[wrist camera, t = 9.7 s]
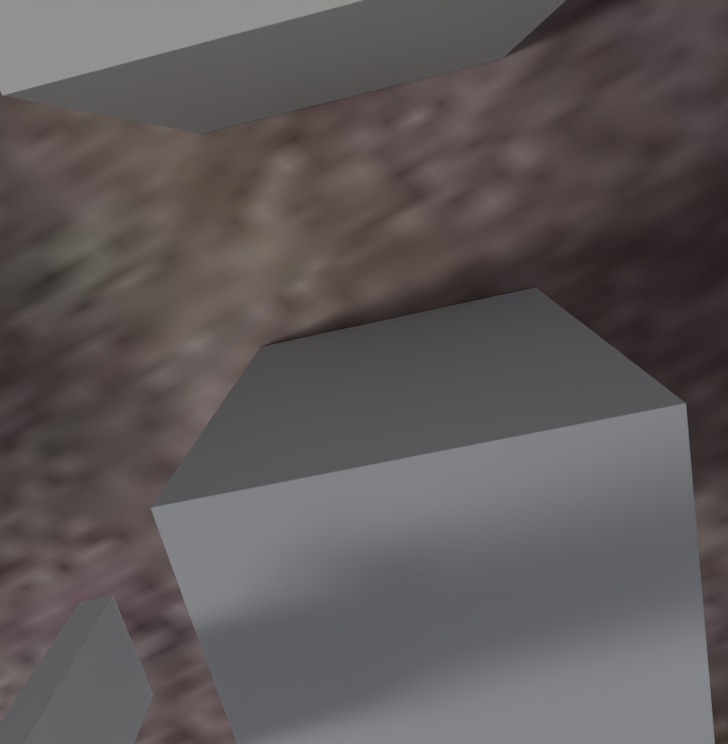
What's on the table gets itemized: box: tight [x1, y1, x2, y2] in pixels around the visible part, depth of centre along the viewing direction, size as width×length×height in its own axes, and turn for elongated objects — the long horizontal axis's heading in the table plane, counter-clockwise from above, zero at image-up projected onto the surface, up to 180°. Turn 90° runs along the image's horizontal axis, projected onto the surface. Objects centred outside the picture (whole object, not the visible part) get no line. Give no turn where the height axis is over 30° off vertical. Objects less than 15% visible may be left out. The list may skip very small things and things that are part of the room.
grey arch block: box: [151, 287, 715, 744], centre depth 16 cm, size 9×9×10 cm
